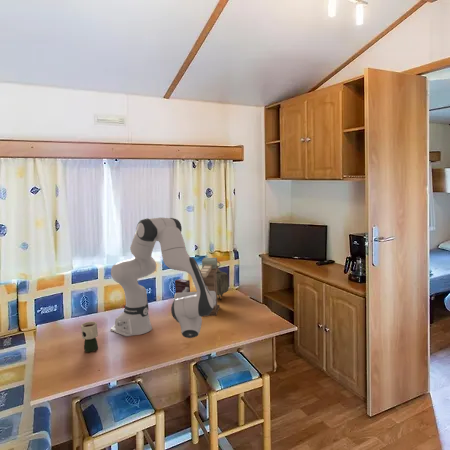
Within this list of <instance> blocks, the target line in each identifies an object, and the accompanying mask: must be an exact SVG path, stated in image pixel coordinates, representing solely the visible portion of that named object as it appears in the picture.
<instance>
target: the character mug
mask: <svg viewBox="0 0 450 450" xmlns="http://www.w3.org/2000/svg"><path fill="white" fill-rule="evenodd" d="M80 328H81V338H82V339H83V340H84V341H83V343H84V344H83V350H84V352H85V353H90V352H91V353H92V352H94V351H96V350H98V349H99V346H98V341H97V340H98V339H97V337H98V334H99V332H98V323H97V322H96V321H86V322H83V323H82V324H81V325H80Z"/></svg>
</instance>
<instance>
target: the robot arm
mask: <svg viewBox="0 0 450 450" xmlns="http://www.w3.org/2000/svg"><path fill="white" fill-rule="evenodd" d="M135 229H136V230H135V233H134V236H133V239H132V240H131V244H130V249H129V250H130V252H131V254H132V256H133V258H129V259H125V260H121V261H118V262H117V263H114V264H113V265H112V266H111V269H110V275H111V278H112V279H113V280H114V281H115V282H116V283H118V284H119V285H120V286H121V287H122V289H123V292H124V296H125V297H124V298H125V305H122V309H123V311H122V312H121V313H120V314H119V315H118V316H116V317H115V320H114V325H112V326H111V327H110V331H111V332H113V331H114V332H113V333H117V334H119V335H121V336H123V337H131V336H139V335H143V334H144V335H145V334H147V333H149V332H150V331H152V329H153V326H152V324H151V320H150V314H149V303H148V296H147V289H146V287H144V286H143V285H141V284H139V282H138V280H139V279H142V278H146V277H148V276H149V275H151V274H153V273H155V271H156V269H157V264H156V260H155V259H154V258H153V257H152V253H153V250H154V248H155V245H156V243H157V242H158V243H159V245H160V250H161V251H160V253H161V257H162V261H163V263H164V265H165V266H166V267H168V268H169V269H171V270H172V271H173V270H174V271H179V272H184V273H187V274H189V275H190V277H191V279H192V282H193V285H194V287H195V290H196V291H190V292H189V287H185V290H184V291H183V292H182V293H176V292H175V293H174V297H173V301H172V304H171V309H170V311H171V313H170V314H171V315H172V318H173V319H174V320H175V321H176V322H177V323H178V324H179V326H180V331H181V332H180V333H181V335H182V336H183V337H184V338H186V339H193V338H197V337H198V336H199V335H200V332H201V330H202V329H201V328H202V323H203V318H202V317H209V316H208V315H209V314H210V313H211V312H212V310H213V308H214V306H215V305H216V292H215V291H209V290H208V288H207V286H206V284H205V282H204V279H203V276H202V274H201V271H200V270H201V269H200V267H199V264H198V262H197V260H196V259H195V258H194V257H191V256H190V255H189V253H188V251H187V248H186V244H185V240H184V237H183V234H182V230H183V229H182V224H181V221H180V220H178V219H177V218H173V217H154V218H153V217H152V218H143V219H141V220H139V222H138V223H137V225H136V228H135Z"/></svg>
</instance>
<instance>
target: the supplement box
mask: <svg viewBox="0 0 450 450" xmlns="http://www.w3.org/2000/svg"><path fill="white" fill-rule="evenodd" d="M190 283H191V282H190V279H184V278H183V279H182V278H178V279H175V280H174V285H175V286H174V288H175V289H174V290H175V294H176V293H182V292H183V291H184V290H185V287H189V292H191V284H190Z"/></svg>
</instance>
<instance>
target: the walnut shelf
mask: <svg viewBox="0 0 450 450" xmlns="http://www.w3.org/2000/svg"><path fill="white" fill-rule="evenodd" d="M218 266H219V265H217V267H216V269H212V270H211V271H210V273H209V274H208V276H207V277H206V278H203V279H204V282H205V284H206V286H207V288H208V290H209V291H215V292H216V305H215V306H214V308H213V310H212V312H211V313H210V314H209V315H208V316H207V317H209V316H211V317H212V316H215V317H216V316H217V314H218V312H219V309H220V304H218V295H217V281H216V272H217V270H218V269H219V267H218ZM201 270H202V268H201V269H200V271H201Z"/></svg>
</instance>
